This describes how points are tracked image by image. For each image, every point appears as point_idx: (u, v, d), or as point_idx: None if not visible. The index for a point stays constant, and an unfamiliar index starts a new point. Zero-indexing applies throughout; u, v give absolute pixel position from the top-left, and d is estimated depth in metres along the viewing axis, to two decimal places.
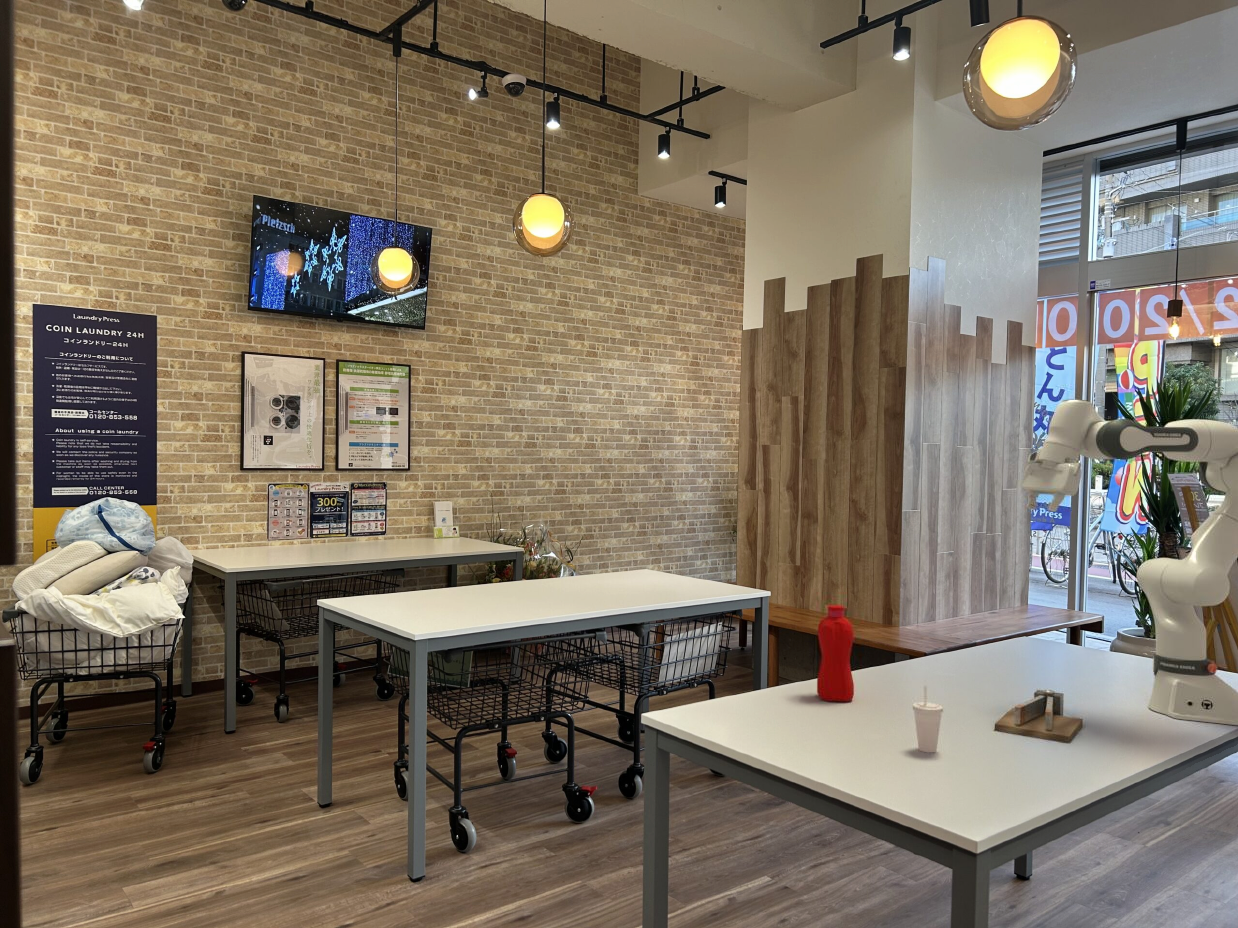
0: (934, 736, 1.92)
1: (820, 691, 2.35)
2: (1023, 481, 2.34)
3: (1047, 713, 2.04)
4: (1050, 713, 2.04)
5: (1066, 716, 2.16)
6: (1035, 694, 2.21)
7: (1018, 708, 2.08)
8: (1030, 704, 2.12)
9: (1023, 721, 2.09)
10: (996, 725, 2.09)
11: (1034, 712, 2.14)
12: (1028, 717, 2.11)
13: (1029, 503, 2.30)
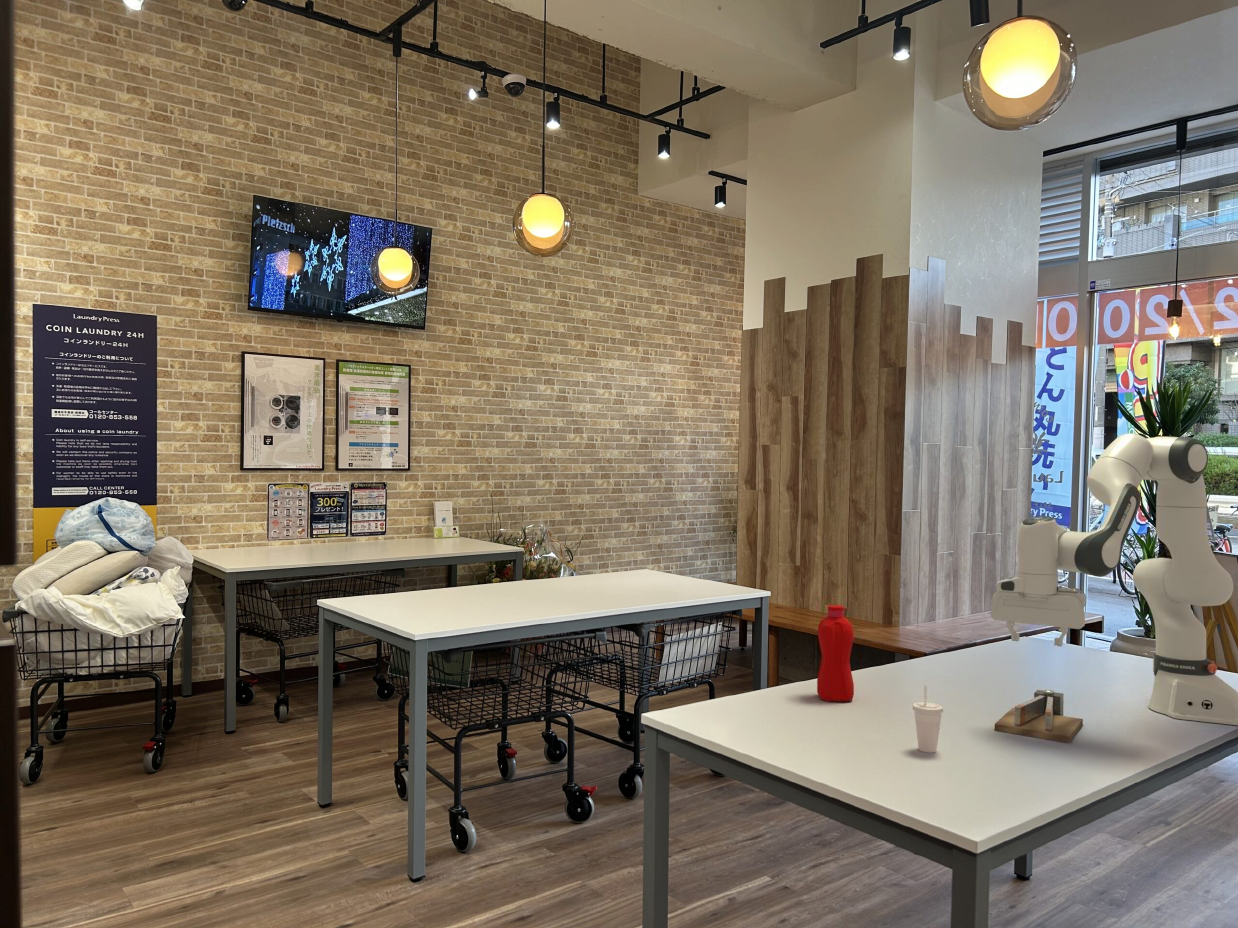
0: (934, 736, 1.92)
1: (820, 691, 2.35)
2: (994, 611, 2.13)
3: (1047, 713, 2.04)
4: (1050, 713, 2.04)
5: (1066, 716, 2.16)
6: (1035, 694, 2.21)
7: (1018, 708, 2.08)
8: (1030, 704, 2.12)
9: (1023, 721, 2.09)
10: (996, 725, 2.09)
11: (1034, 712, 2.14)
12: (1028, 717, 2.11)
13: (1015, 636, 2.11)
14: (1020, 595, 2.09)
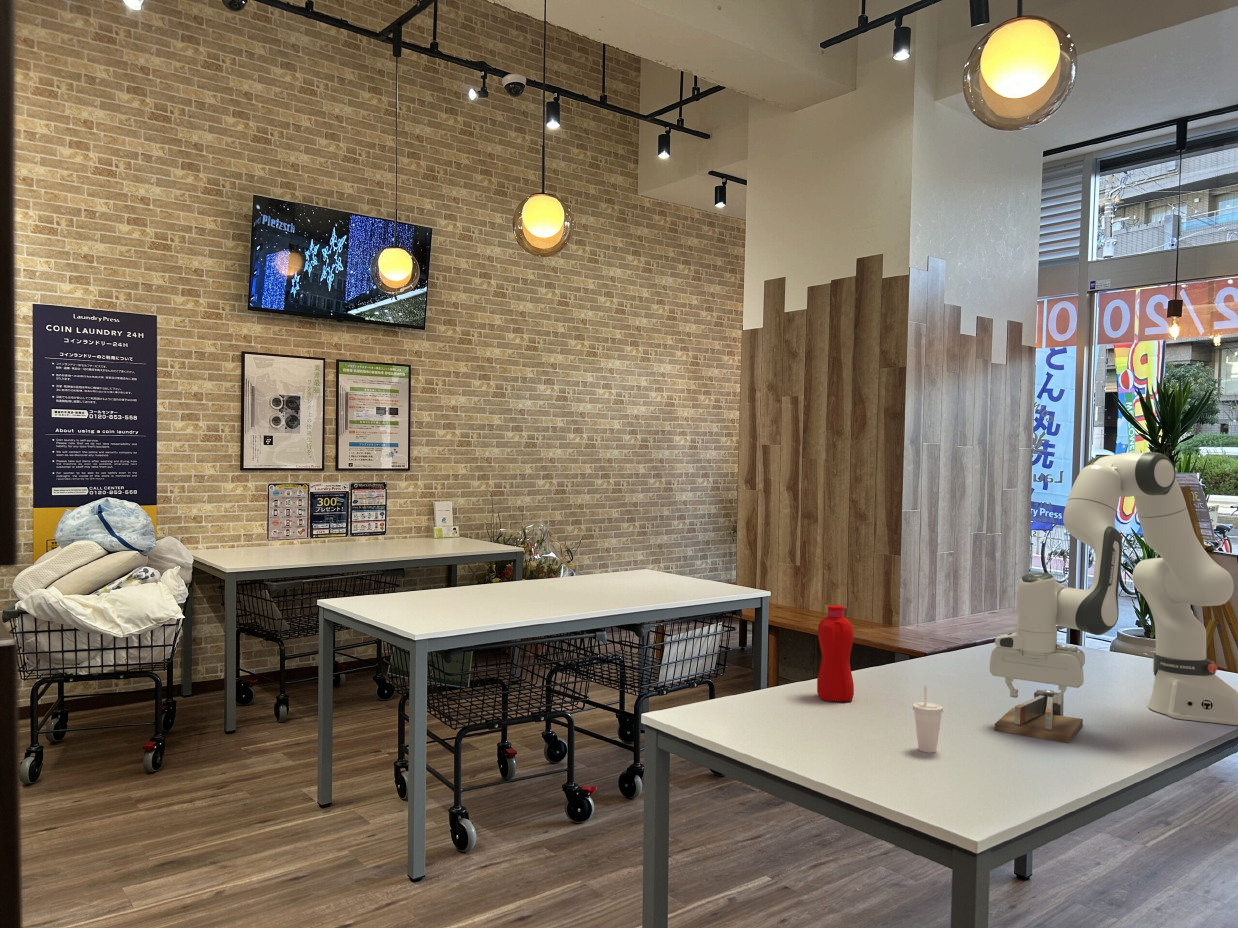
0: (934, 736, 1.92)
1: (820, 691, 2.35)
2: (993, 667, 2.13)
3: (1047, 713, 2.04)
4: (1050, 713, 2.04)
5: (1066, 716, 2.16)
6: (1035, 694, 2.21)
7: (1018, 708, 2.08)
8: (1030, 704, 2.12)
9: (1023, 721, 2.09)
10: (996, 725, 2.09)
11: (1034, 712, 2.14)
12: (1028, 717, 2.11)
13: (1013, 692, 2.11)
14: (1019, 652, 2.09)
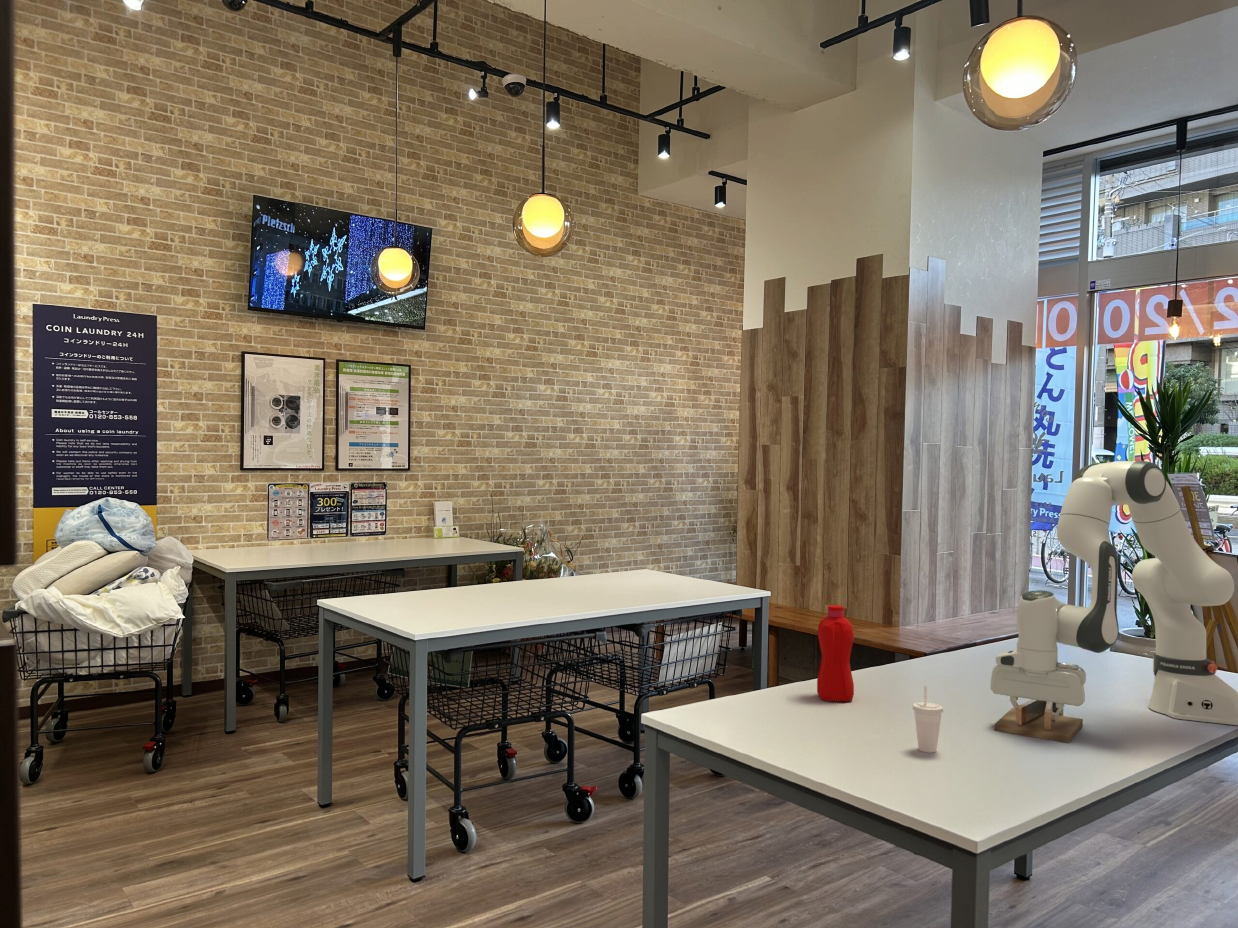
0: (934, 736, 1.92)
1: (820, 691, 2.35)
2: (994, 685, 2.13)
3: (1046, 713, 2.04)
4: (1049, 713, 2.04)
5: (1066, 716, 2.16)
6: None
7: (1019, 708, 2.07)
8: (1031, 704, 2.12)
9: (1024, 721, 2.09)
10: (996, 725, 2.09)
11: (1035, 712, 2.14)
12: (1029, 717, 2.11)
13: None
14: (1020, 670, 2.09)
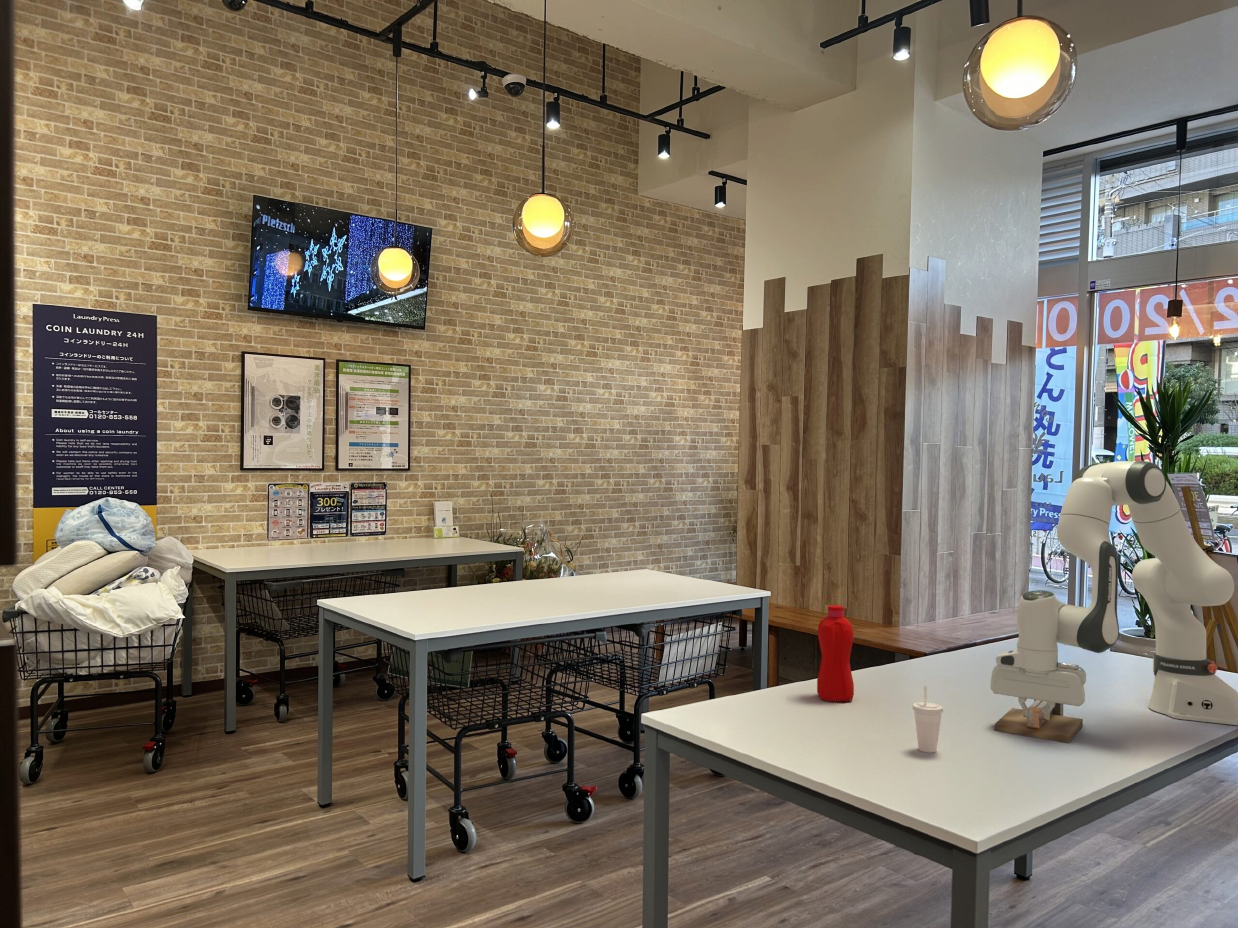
0: (934, 736, 1.92)
1: (820, 691, 2.35)
2: (994, 684, 2.13)
3: (1034, 711, 2.05)
4: (1037, 711, 2.05)
5: (1066, 716, 2.16)
6: None
7: (1030, 710, 2.06)
8: (1037, 705, 2.11)
9: None
10: (996, 725, 2.09)
11: None
12: None
13: None
14: (1020, 670, 2.09)
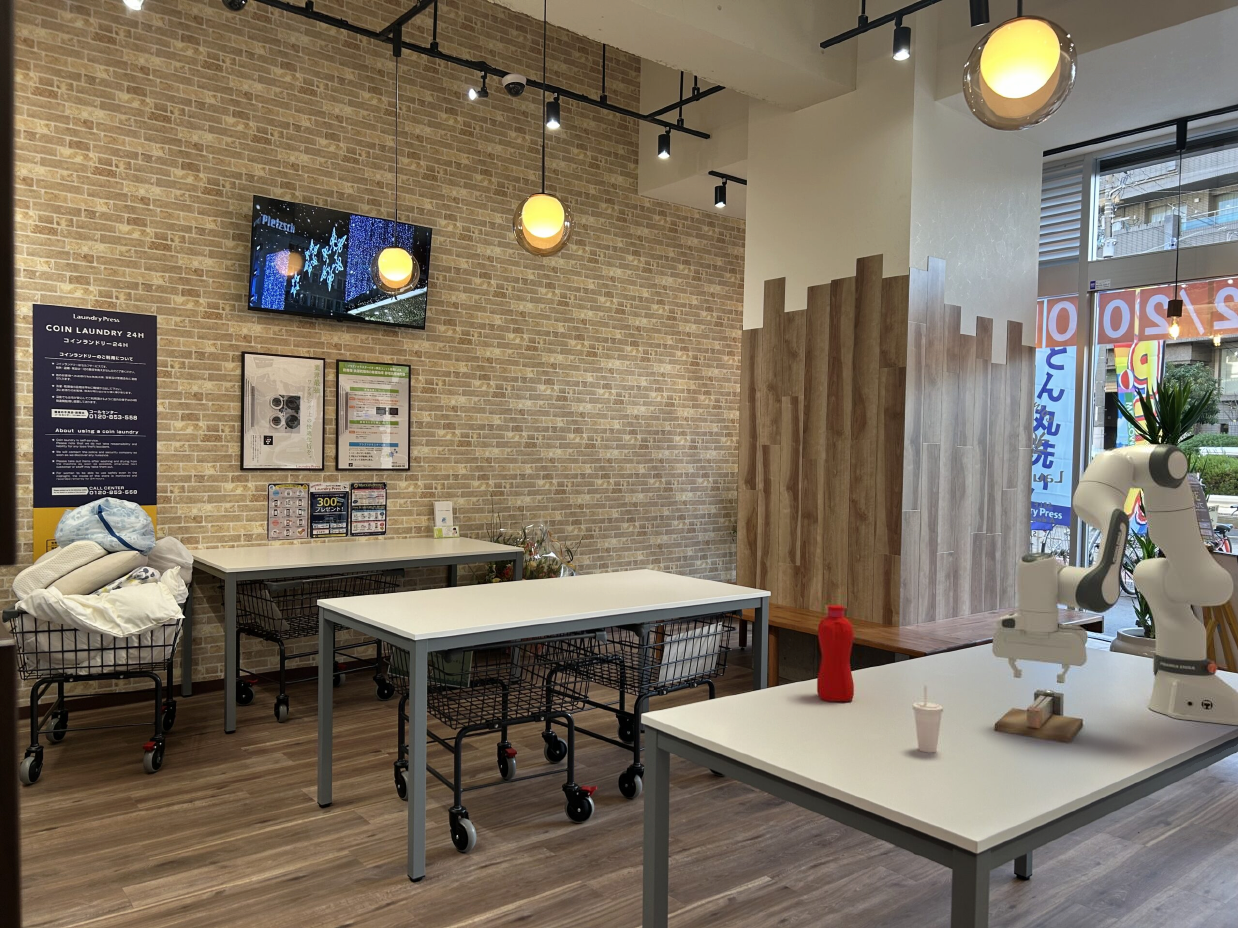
0: (934, 736, 1.92)
1: (820, 691, 2.35)
2: (996, 648, 2.13)
3: (1034, 711, 2.05)
4: (1037, 711, 2.05)
5: (1066, 716, 2.16)
6: (1035, 694, 2.21)
7: (1030, 710, 2.06)
8: (1037, 705, 2.11)
9: None
10: (996, 725, 2.09)
11: None
12: None
13: (1017, 672, 2.11)
14: (1021, 632, 2.09)
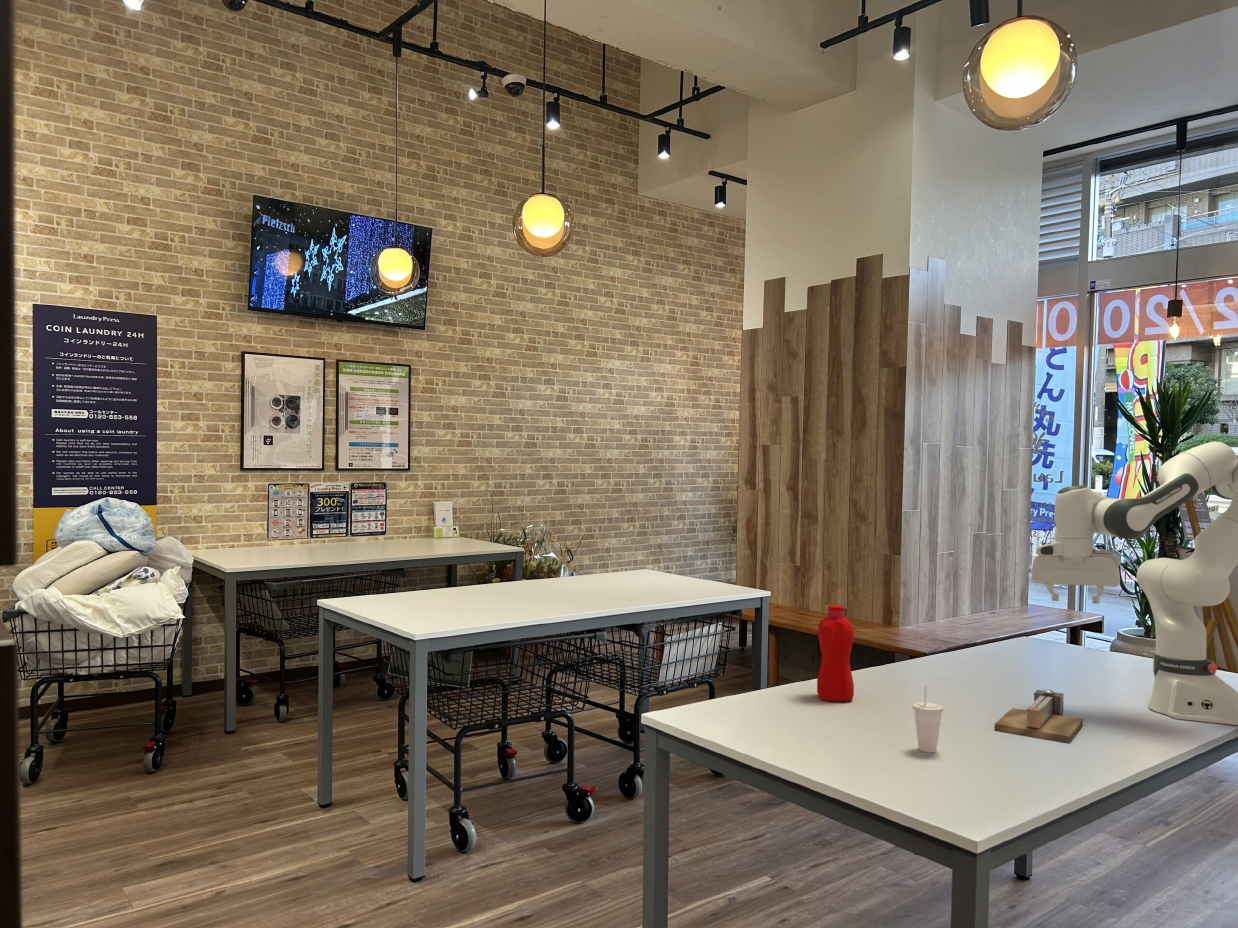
0: (934, 736, 1.92)
1: (820, 691, 2.35)
2: (1035, 574, 2.31)
3: (1034, 711, 2.05)
4: (1037, 711, 2.05)
5: (1066, 716, 2.16)
6: (1035, 694, 2.21)
7: (1030, 710, 2.06)
8: (1037, 705, 2.11)
9: None
10: (996, 725, 2.09)
11: None
12: None
13: (1055, 596, 2.30)
14: (1059, 558, 2.28)
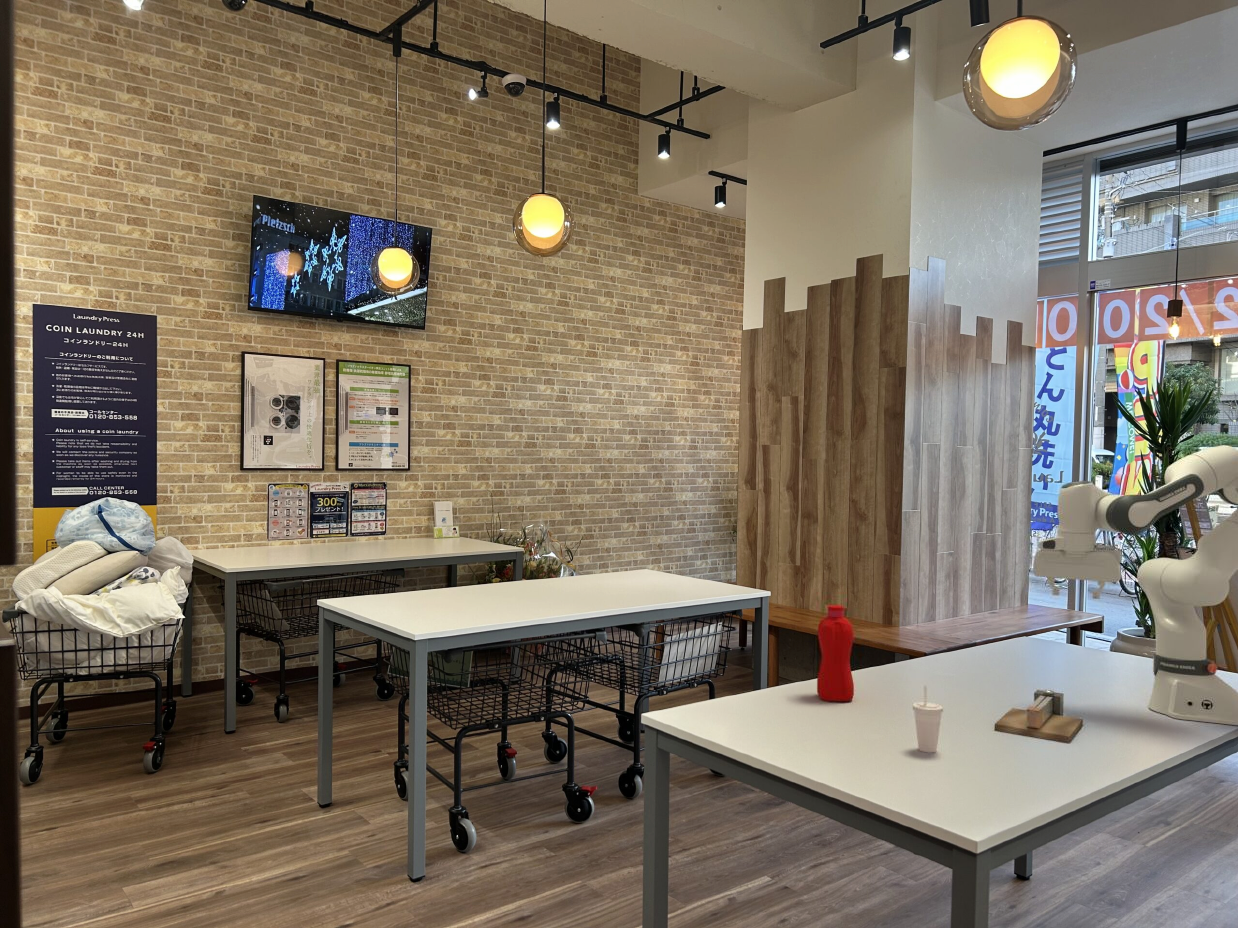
0: (934, 736, 1.92)
1: (820, 691, 2.35)
2: (1036, 568, 2.33)
3: (1034, 711, 2.05)
4: (1037, 711, 2.05)
5: (1066, 716, 2.16)
6: (1035, 694, 2.21)
7: (1030, 710, 2.06)
8: (1037, 705, 2.11)
9: None
10: (996, 725, 2.09)
11: None
12: None
13: (1055, 590, 2.31)
14: (1060, 553, 2.29)
